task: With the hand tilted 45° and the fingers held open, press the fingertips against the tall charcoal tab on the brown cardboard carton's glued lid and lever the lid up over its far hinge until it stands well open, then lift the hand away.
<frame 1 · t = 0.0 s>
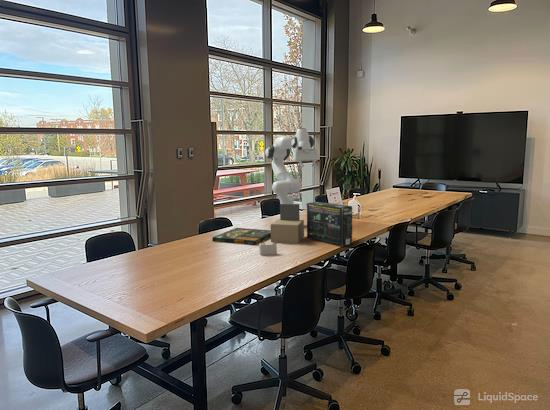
hand: (308, 166, 307), 52 cm above the table, tool tilted 20°, fingers open, 8 cm apart
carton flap: (287, 214, 299), point 19 cm above the table, hinge at 0.0°
router box: (328, 241, 293), on the table
pizza box: (245, 238, 310), on the table
carton: (287, 239, 302), on the table
model: (268, 254, 265), on the table
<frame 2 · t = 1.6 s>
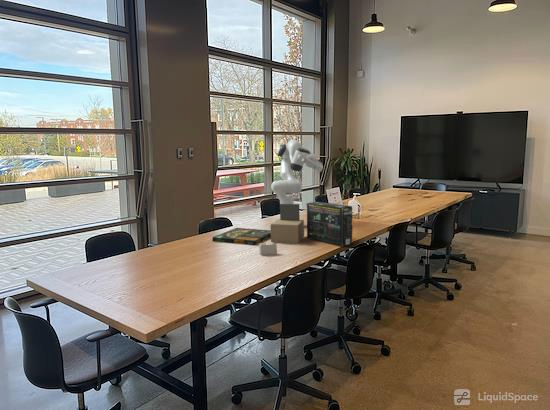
hand: (309, 164, 297), 54 cm above the table, tool horizontal, fingers open, 8 cm apart
nothing on the table moved.
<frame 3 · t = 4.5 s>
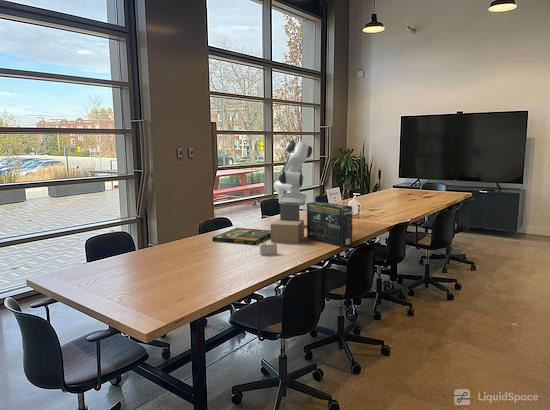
hand: (290, 209, 307), 21 cm above the table, tool tilted 45°
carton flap: (287, 214, 299), point 19 cm above the table, hinge at -0.3°, touching carton, gripper
everything else where it was.
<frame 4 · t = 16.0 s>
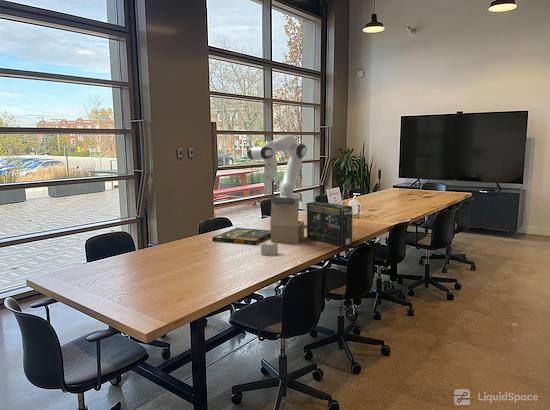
hand: (271, 181, 313), 41 cm above the table, tool pointing down, fingers open, 8 cm apart
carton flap: (282, 210, 285), point 23 cm above the table, hinge at 73.8°
everything else where it was.
at the end: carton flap at +74° (first picture: +0°); the gripper is holding nothing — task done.
